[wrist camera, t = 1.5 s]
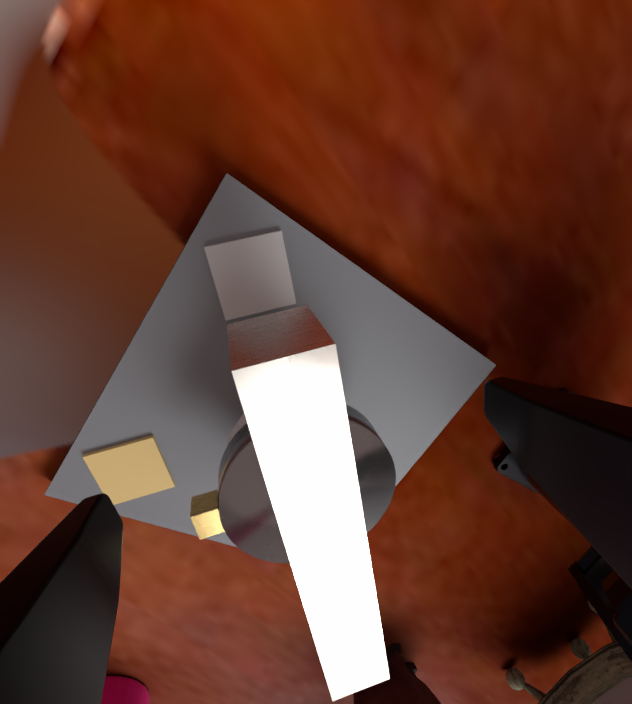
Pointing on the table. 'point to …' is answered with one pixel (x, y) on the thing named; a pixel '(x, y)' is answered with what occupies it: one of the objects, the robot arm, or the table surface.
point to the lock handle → (306, 487)
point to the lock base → (215, 367)
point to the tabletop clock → (587, 677)
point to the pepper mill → (124, 691)
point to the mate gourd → (397, 685)
